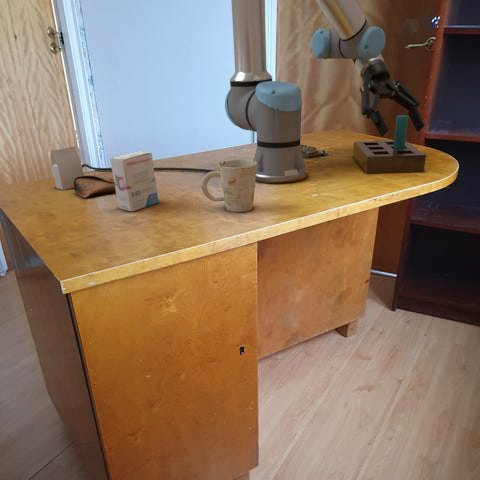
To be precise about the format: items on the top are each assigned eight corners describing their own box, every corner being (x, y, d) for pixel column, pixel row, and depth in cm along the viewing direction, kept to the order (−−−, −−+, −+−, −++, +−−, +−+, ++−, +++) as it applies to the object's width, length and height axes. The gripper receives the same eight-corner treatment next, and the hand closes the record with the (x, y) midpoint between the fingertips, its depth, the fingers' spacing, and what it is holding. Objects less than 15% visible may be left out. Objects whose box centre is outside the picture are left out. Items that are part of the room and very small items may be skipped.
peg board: (366, 173, 136) (367, 156, 134) (352, 156, 155) (354, 141, 153) (423, 171, 135) (426, 155, 133) (403, 155, 155) (405, 140, 152)
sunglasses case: (84, 197, 123) (75, 171, 123) (79, 206, 129) (71, 181, 129) (150, 185, 131) (142, 160, 131) (143, 193, 137) (135, 170, 137)
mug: (257, 213, 109) (257, 167, 104) (201, 215, 109) (197, 169, 104) (257, 202, 116) (256, 158, 111) (204, 203, 116) (201, 160, 111)
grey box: (85, 184, 136) (78, 147, 131) (62, 189, 132) (54, 151, 127) (78, 182, 139) (71, 145, 134) (56, 187, 135) (47, 149, 130)
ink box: (145, 199, 121) (138, 149, 115) (159, 202, 118) (153, 151, 113) (117, 208, 116) (109, 156, 110) (131, 212, 113) (123, 158, 107)
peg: (392, 164, 144) (398, 117, 137) (390, 162, 147) (395, 115, 140) (403, 164, 144) (410, 116, 137) (401, 162, 146) (407, 115, 140)
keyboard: (267, 148, 171) (267, 142, 170) (288, 145, 175) (288, 139, 174) (307, 158, 155) (307, 151, 154) (329, 154, 159) (329, 148, 158)
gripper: (345, 61, 136) (376, 126, 131) (412, 57, 145) (443, 117, 141) (332, 82, 142) (361, 144, 138) (397, 77, 152) (426, 134, 148)
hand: (403, 131), depth 140 cm, fingers open, 13 cm apart
